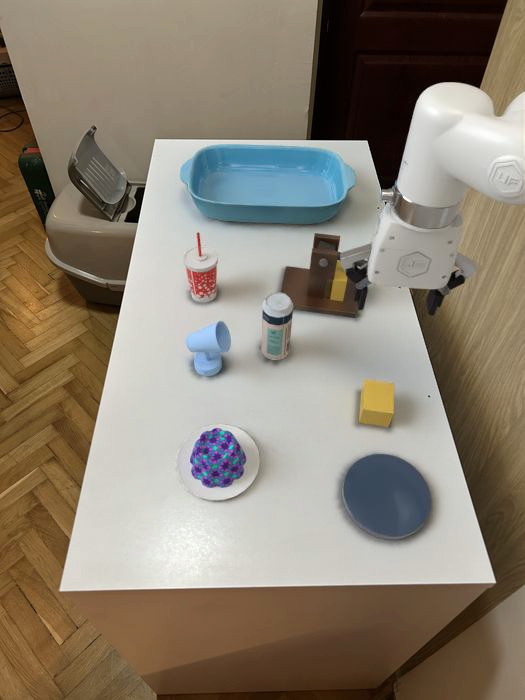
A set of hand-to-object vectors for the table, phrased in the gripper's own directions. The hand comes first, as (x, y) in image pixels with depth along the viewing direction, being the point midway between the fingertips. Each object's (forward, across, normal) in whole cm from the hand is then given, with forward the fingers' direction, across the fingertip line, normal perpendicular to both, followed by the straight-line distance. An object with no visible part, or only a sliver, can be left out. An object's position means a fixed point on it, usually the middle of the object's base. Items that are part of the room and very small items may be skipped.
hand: (394, 305), depth 74 cm
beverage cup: (+17, -30, +16) cm, 38 cm away
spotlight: (+17, -27, 0) cm, 32 cm away
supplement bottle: (+17, -16, +4) cm, 24 cm away
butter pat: (+17, 0, -7) cm, 18 cm away
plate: (+17, +1, -21) cm, 27 cm away
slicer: (+17, -9, +18) cm, 26 cm away
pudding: (+17, -23, -18) cm, 34 cm away
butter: (+16, -6, +18) cm, 25 cm away
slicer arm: (+9, -5, +18) cm, 21 cm away
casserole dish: (+17, -21, +46) cm, 53 cm away
